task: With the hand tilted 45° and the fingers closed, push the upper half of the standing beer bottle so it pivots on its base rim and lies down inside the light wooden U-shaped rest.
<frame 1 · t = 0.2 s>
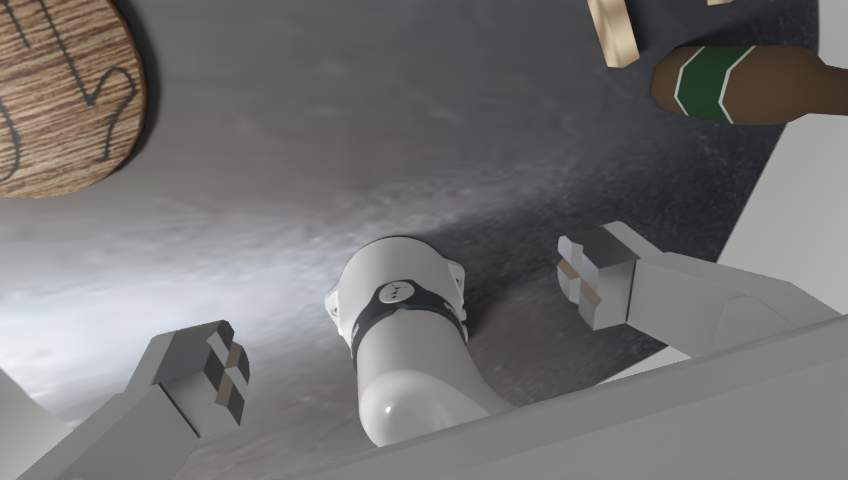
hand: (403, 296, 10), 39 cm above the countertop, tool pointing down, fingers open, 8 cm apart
trivet: (0, 64, 39), on the countertop
beer bottle: (675, 79, 51), on the countertop
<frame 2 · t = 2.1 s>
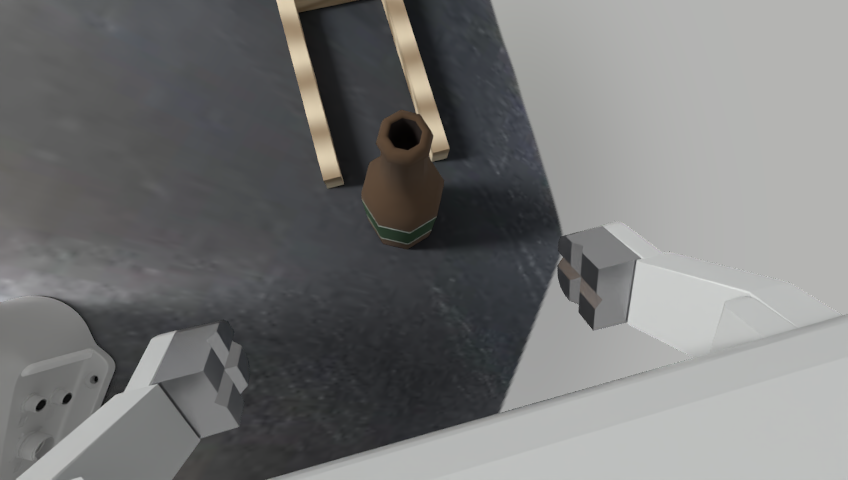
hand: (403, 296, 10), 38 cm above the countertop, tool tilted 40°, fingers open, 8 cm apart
u rest: (363, 85, 52), on the countertop
beer bottle: (402, 219, 50), on the countertop
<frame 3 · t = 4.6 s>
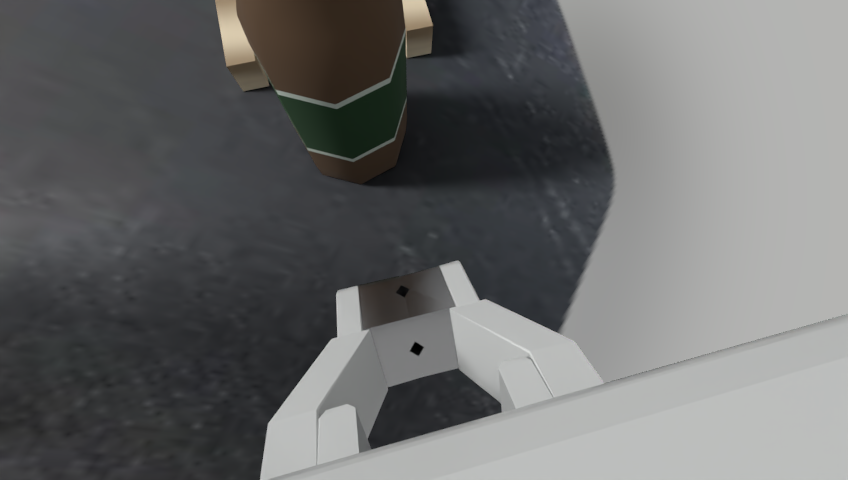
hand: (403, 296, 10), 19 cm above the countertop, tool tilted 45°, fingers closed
beer bottle: (356, 140, 32), on the countertop
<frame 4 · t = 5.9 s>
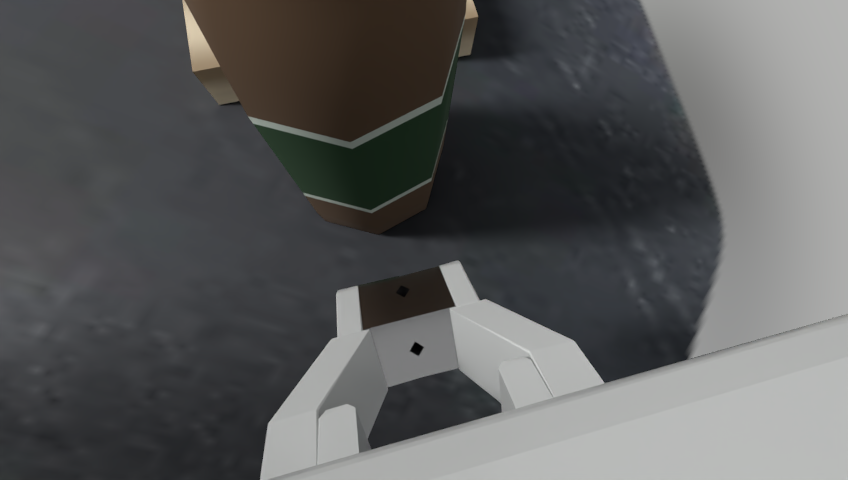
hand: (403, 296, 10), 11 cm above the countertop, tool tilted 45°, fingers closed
beer bottle: (371, 172, 23), on the countertop
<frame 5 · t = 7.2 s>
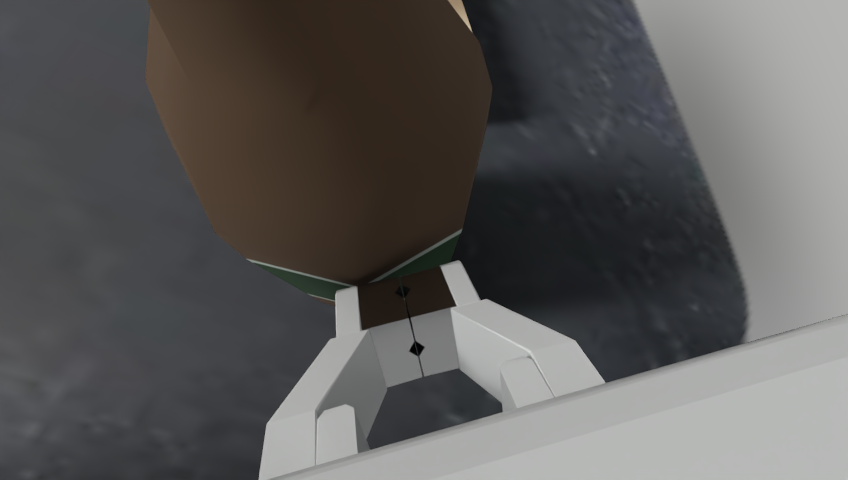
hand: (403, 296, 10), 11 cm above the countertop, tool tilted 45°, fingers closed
beer bottle: (379, 248, 22), on the countertop, touching gripper
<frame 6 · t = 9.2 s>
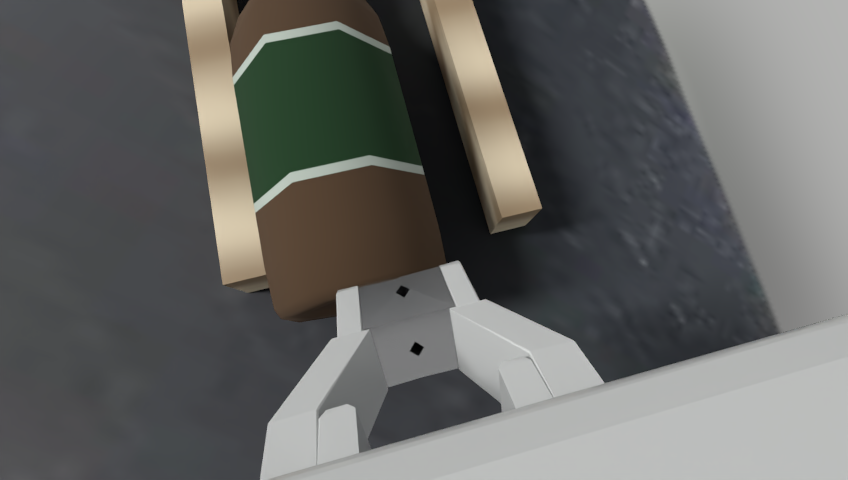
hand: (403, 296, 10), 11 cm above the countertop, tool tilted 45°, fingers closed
u rest: (344, 65, 25), on the countertop
beer bottle: (369, 305, 18), point 4 cm above the countertop
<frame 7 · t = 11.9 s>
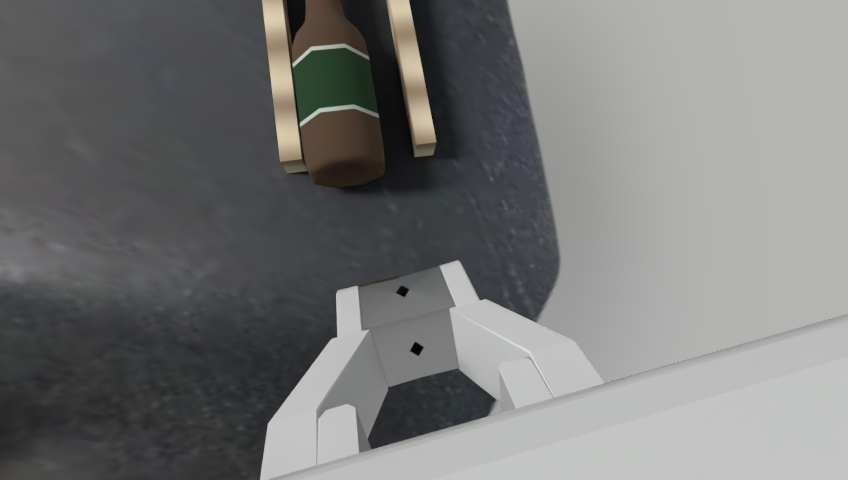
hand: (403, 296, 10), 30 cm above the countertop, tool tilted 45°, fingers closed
u rest: (346, 61, 45), on the countertop
beer bottle: (348, 176, 38), point 4 cm above the countertop
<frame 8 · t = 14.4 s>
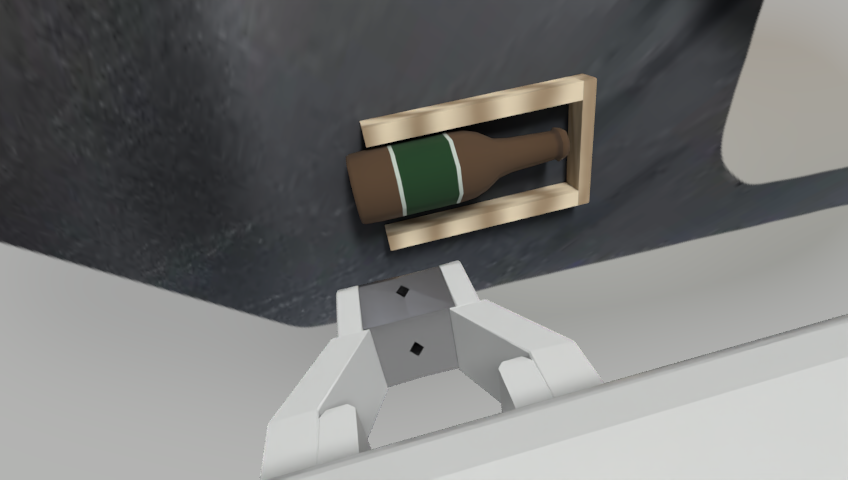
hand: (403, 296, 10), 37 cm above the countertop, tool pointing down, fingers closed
u rest: (473, 162, 49), on the countertop
beer bottle: (352, 190, 44), point 4 cm above the countertop
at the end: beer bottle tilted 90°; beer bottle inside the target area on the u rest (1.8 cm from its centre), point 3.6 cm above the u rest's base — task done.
